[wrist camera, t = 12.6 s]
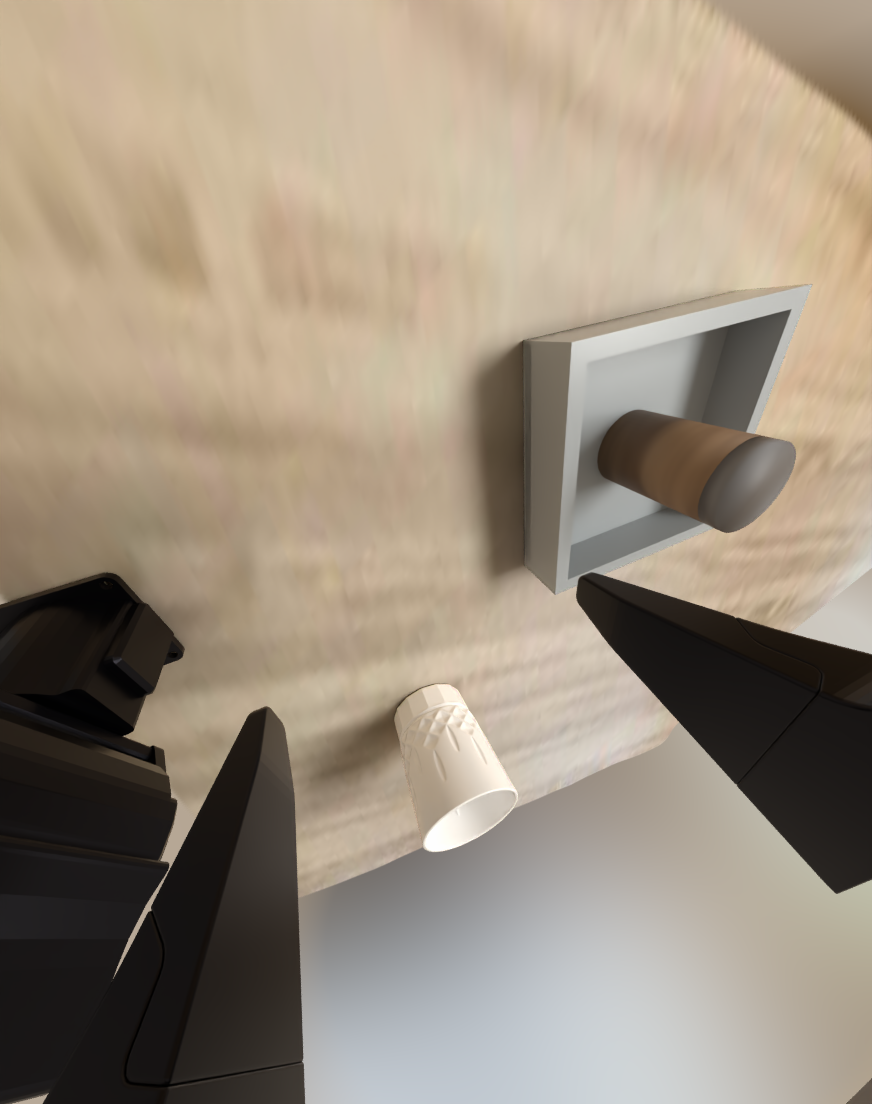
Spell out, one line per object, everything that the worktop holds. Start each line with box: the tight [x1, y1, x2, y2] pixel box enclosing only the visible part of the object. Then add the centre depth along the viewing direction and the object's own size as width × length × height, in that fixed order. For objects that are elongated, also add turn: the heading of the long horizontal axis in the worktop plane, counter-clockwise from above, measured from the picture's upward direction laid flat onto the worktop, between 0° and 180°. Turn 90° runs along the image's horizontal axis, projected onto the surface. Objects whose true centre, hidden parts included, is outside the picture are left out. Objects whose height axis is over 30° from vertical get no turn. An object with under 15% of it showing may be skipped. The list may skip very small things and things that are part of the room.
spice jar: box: [597, 410, 796, 533], centre depth 21 cm, size 5×5×8 cm
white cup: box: [394, 684, 518, 852], centre depth 30 cm, size 8×8×10 cm
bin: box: [523, 284, 812, 595], centre depth 24 cm, size 16×16×4 cm
